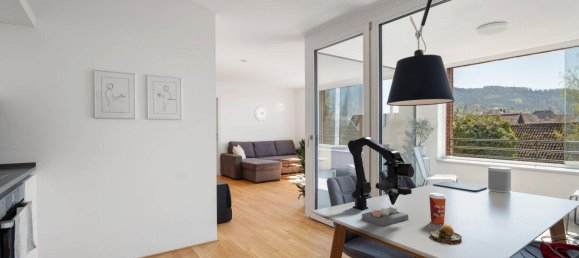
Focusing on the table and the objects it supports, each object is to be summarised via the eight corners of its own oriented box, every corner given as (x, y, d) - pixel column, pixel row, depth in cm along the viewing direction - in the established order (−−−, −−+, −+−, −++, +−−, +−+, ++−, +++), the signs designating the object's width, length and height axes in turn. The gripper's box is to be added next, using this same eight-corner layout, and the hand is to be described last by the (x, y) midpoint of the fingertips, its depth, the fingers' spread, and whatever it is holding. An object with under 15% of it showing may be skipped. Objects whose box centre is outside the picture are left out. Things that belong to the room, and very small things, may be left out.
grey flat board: (362, 218, 145) (361, 213, 145) (387, 212, 154) (387, 208, 154) (381, 226, 134) (381, 221, 134) (408, 219, 143) (408, 214, 143)
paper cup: (437, 226, 133) (436, 196, 133) (425, 221, 141) (425, 192, 141) (450, 224, 135) (450, 195, 135) (438, 219, 143) (438, 191, 143)
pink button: (370, 217, 142) (370, 210, 142) (376, 216, 144) (376, 209, 144) (376, 220, 138) (376, 212, 138) (382, 218, 140) (382, 211, 140)
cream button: (379, 215, 145) (379, 208, 145) (384, 214, 147) (384, 207, 147) (385, 217, 141) (385, 210, 141) (390, 216, 143) (390, 209, 143)
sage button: (387, 213, 148) (387, 207, 148) (392, 212, 150) (392, 206, 150) (393, 215, 144) (393, 209, 144) (398, 214, 146) (398, 207, 146)
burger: (452, 233, 125) (452, 216, 125) (468, 244, 113) (468, 226, 113) (424, 233, 125) (424, 216, 125) (437, 244, 114) (437, 226, 114)
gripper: (368, 173, 151) (368, 202, 151) (397, 179, 135) (397, 211, 135) (382, 171, 156) (382, 199, 157) (412, 177, 140) (412, 208, 141)
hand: (392, 204), depth 147 cm, fingers closed
